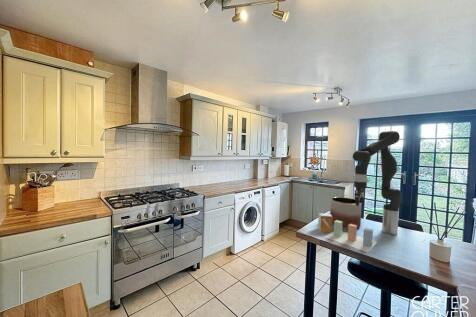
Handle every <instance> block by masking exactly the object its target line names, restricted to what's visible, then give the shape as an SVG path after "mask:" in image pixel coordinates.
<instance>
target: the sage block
mask: <svg viewBox="0 0 476 317" xmlns="http://www.w3.org/2000/svg"><path fill="white" fill-rule="evenodd" d="M342 224H343V222H342V221H338V220H336V221H334V224H333V231H334V236H337V237H341V236H342V232H343V227H342Z"/></svg>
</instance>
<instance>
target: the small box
mask: <svg viewBox="0 0 476 317" xmlns="http://www.w3.org/2000/svg"><path fill="white" fill-rule="evenodd" d="M332 218H333V216H331V215H330V213H323V212H321V213H319V212H318V220H317V223H318V224H317V229H318V232H320V233H332V232H333V224H332Z"/></svg>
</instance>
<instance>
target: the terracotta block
mask: <svg viewBox="0 0 476 317" xmlns="http://www.w3.org/2000/svg"><path fill="white" fill-rule="evenodd" d="M347 233H348V240H349V241H352V242H355V241H356V236H358V235H357V233H358V228H357V225H354V224H349V225H348V228H347Z"/></svg>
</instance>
